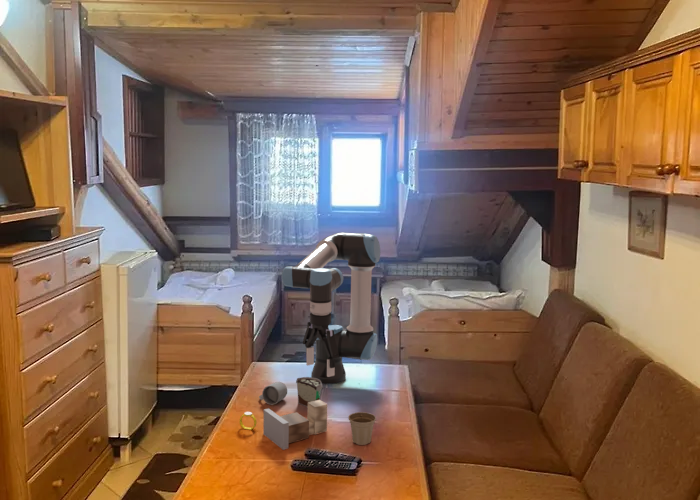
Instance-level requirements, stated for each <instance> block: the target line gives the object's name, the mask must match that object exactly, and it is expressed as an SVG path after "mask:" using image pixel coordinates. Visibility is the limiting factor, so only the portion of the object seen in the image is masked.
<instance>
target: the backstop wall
mask: <svg viewBox="0 0 700 500" xmlns="http://www.w3.org/2000/svg"><path fill="white" fill-rule="evenodd" d="M280 416H281V415H279V414H277V413H276V412H275V411H273V410H272V409H270V408H265V409H263V428H262V429H263V436H265V437H266V438H268V439H269V440H270V441H271V442H273V443H274V445H276V446H277V447H279V448H280V449H281V450H283V451H285V450H287V449H289V443H288V440H289V422H287V421H286V420H284V419H283V418H282V417H280Z"/></svg>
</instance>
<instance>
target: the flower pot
mask: <svg viewBox="0 0 700 500" xmlns="http://www.w3.org/2000/svg"><path fill="white" fill-rule="evenodd" d="M347 418H348V420H349V423H350V428H351V437H352V442H353V444H356V445H359V446H366V445H368V444H370V443H371V441H372V436H373V428H374V424H375V421H376V420H377V418H376V415H374V414H373V413H371V412H365V411H359V412H353V413H351V414H349V415H348V417H347Z"/></svg>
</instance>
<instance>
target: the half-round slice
mask: <svg viewBox="0 0 700 500" xmlns="http://www.w3.org/2000/svg"><path fill="white" fill-rule="evenodd" d="M295 381H296V382H295V383H296V385H297V386H296V387H297V403H298V405H301V406H304V407H306V408H308V402H312V401H316V400H321V399H320V398H321V391H322V389H323V383H321V381H320V380H319V379H317V378H312V377H311V376H304V377H297V378H296V380H295Z"/></svg>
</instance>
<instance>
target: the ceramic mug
mask: <svg viewBox="0 0 700 500" xmlns="http://www.w3.org/2000/svg"><path fill="white" fill-rule="evenodd" d="M287 395H288V388H287V386H286V384H285V383H283V382H281V381H276V382H273V383H271V384H268V385H266V386H265V387H264V388H263V390H262V393H261V394H260V395H259V400H260V401H264V402H265V403H266V404H267V405H270V406H274V405H276V404H278V403H280V402H281V401H283V400H284V399H285V398H286V396H287Z"/></svg>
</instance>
